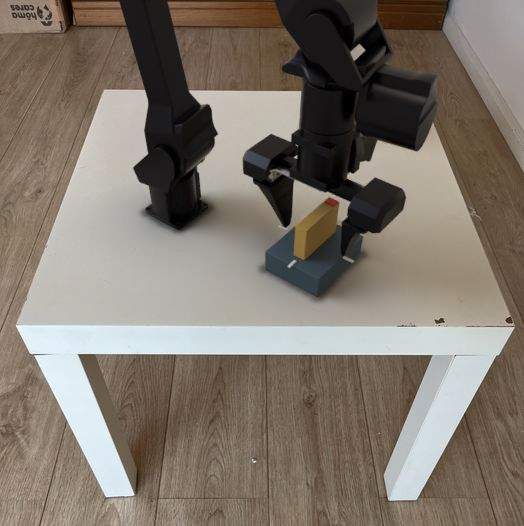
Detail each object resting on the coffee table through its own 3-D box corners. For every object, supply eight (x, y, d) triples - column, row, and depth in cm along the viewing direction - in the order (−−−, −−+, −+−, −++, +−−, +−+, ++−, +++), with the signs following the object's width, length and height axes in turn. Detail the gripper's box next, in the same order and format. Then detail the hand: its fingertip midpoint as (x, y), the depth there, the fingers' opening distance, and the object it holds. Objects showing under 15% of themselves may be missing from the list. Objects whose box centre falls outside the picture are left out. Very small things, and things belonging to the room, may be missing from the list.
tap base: (325, 305, 70) (327, 286, 67) (252, 266, 74) (251, 247, 72) (373, 256, 76) (377, 237, 73) (302, 223, 80) (304, 204, 77)
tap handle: (304, 260, 70) (306, 229, 67) (293, 255, 71) (295, 224, 67) (335, 231, 74) (340, 200, 70) (325, 226, 75) (328, 195, 71)
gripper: (444, 118, 61) (413, 237, 73) (298, 67, 68) (292, 182, 80) (391, 166, 55) (366, 286, 67) (238, 104, 62) (241, 222, 74)
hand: (315, 239), depth 72 cm, fingers open, 8 cm apart
